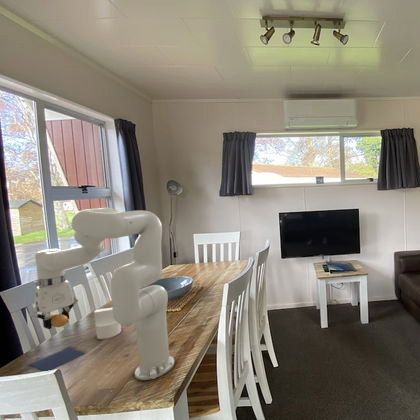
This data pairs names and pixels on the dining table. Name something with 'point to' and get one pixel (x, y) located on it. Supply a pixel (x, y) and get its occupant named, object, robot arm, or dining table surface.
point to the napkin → (57, 359)
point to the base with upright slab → (106, 323)
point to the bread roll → (58, 319)
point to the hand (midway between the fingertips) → (57, 324)
